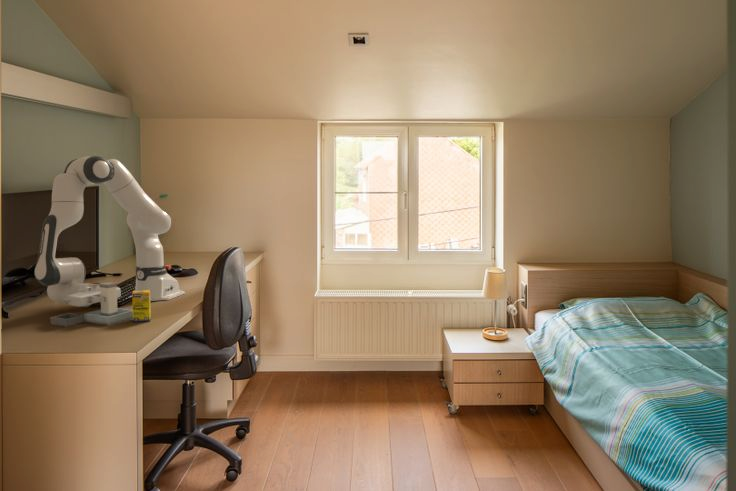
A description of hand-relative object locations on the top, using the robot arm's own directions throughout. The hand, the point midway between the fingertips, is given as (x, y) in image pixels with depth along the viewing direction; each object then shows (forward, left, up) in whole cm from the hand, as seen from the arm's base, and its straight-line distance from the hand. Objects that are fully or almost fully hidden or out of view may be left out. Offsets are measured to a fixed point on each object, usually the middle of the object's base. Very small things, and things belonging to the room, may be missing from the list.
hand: (110, 298), depth 231 cm
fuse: (0, -1, -6) cm, 7 cm away
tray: (0, -1, -8) cm, 8 cm away
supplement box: (-5, +10, -8) cm, 14 cm away
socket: (+8, -11, -8) cm, 16 cm away
